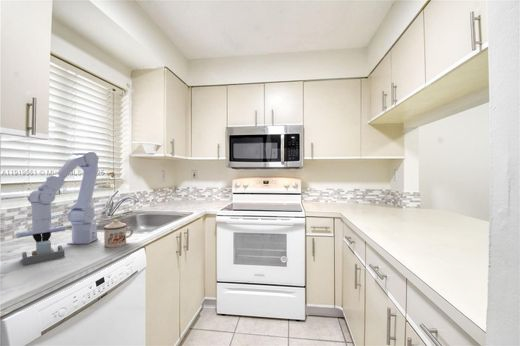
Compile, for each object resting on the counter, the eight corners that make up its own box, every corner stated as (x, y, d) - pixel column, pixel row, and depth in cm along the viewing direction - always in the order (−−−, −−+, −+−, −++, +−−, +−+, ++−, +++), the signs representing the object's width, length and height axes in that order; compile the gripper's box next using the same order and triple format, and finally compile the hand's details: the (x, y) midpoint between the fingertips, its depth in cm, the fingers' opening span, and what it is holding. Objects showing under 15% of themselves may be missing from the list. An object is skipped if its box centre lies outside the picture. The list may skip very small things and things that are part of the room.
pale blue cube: (36, 252, 91) (36, 242, 91) (49, 249, 94) (49, 240, 94) (36, 254, 88) (36, 244, 88) (50, 252, 91) (50, 242, 91)
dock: (22, 258, 89) (22, 252, 89) (61, 251, 98) (61, 245, 98) (23, 265, 83) (23, 258, 83) (64, 256, 92) (64, 250, 92)
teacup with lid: (105, 249, 100) (105, 223, 100) (102, 244, 107) (101, 219, 107) (135, 243, 109) (135, 219, 109) (130, 239, 115) (130, 216, 115)
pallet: (32, 256, 92) (32, 251, 92) (52, 252, 96) (52, 247, 96) (33, 262, 86) (33, 256, 86) (54, 257, 90) (54, 252, 90)
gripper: (63, 214, 103) (63, 244, 103) (16, 220, 92) (16, 253, 92) (65, 217, 98) (66, 248, 98) (16, 223, 87) (16, 258, 87)
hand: (42, 251), depth 95 cm, fingers closed, pressing on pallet
